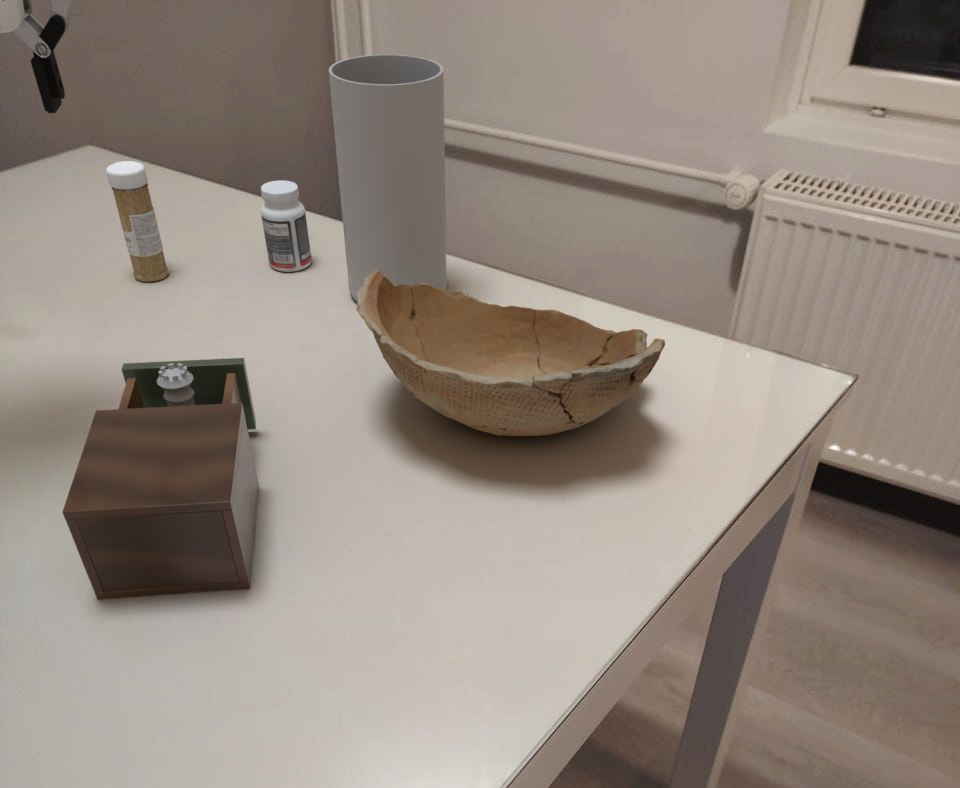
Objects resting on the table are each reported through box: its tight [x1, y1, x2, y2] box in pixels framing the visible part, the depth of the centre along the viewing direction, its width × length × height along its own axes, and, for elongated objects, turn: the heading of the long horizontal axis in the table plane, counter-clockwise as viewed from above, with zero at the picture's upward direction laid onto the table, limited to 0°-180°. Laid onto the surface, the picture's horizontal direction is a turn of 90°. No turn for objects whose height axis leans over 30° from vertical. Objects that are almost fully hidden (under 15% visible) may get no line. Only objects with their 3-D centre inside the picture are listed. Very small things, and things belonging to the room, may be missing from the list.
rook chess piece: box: [157, 363, 195, 407], centre depth 84 cm, size 4×4×8 cm
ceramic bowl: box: [356, 270, 666, 437], centre depth 92 cm, size 30×27×15 cm
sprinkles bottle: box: [105, 160, 170, 283], centre depth 113 cm, size 5×5×14 cm
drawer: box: [118, 357, 257, 431], centre depth 86 cm, size 18×11×7 cm, turn 7°
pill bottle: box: [260, 179, 312, 273], centre depth 118 cm, size 6×6×10 cm
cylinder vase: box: [328, 54, 448, 303], centre depth 107 cm, size 12×12×25 cm
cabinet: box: [61, 403, 260, 600], centre depth 77 cm, size 15×13×9 cm
